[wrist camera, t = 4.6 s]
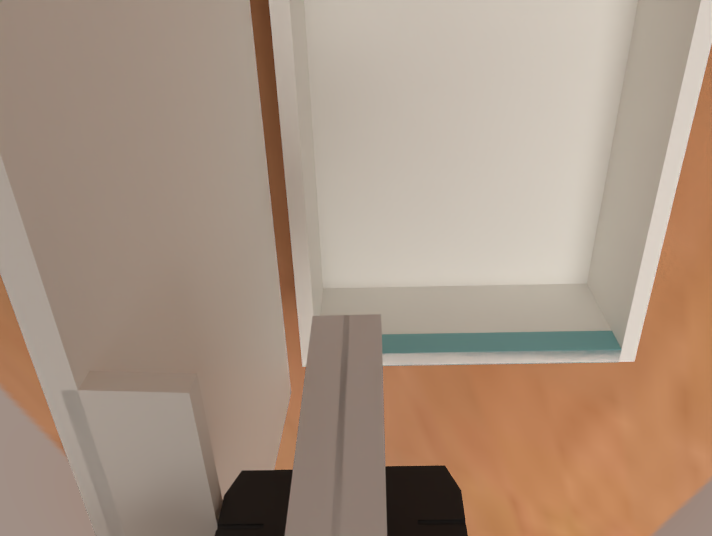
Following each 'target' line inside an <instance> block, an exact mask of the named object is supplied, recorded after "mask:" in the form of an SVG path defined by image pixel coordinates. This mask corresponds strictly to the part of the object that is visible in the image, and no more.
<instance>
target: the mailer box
mask: <svg viewBox="0 0 712 536" xmlns="http://www.w3.org/2000/svg"><path fill="white" fill-rule="evenodd" d="M269 9H270V20H271V31H272V42H273V52H274V63H275V74H276V85H277V96H278V107H279V118H280V128H281V139H282V150H283V161H284V172H285V183H286V194H287V205H288V215H289V226H290V237H291V248H292V259H293V270H294V281H295V291H296V302H297V313H298V324H299V335H300V346H301V357H302V367H306V363H307V355H308V348H309V340H310V332H311V324H312V316H326V315H367V314H381V323H382V361H383V366H406V365H470V364H534V363H599V362H634V361H635V357H636V353H637V348H638V344H639V340H640V336H641V332H642V328H643V324H644V320H645V316H646V311H647V307H648V303H649V299H650V295H651V291H652V287H653V283H654V278H655V274H656V270H657V266H658V262H659V258H660V254H661V250H662V246H663V241H664V237H665V233H666V229H667V225H668V221H669V217H670V213H671V209H672V204H673V200H674V196H675V192H676V188H677V184H678V180H679V176H680V171H681V167H682V163H683V159H684V155H685V151H686V147H687V143H688V139H689V134H690V130H691V126H692V122H693V118H694V114H695V110H696V106H697V102H698V97H699V93H700V89H701V85H702V81H703V77H704V73H705V69H706V65H707V60H708V56H709V52H710V48H711V44H712V0H269Z"/></svg>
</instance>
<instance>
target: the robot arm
mask: <svg viewBox="0 0 712 536" xmlns="http://www.w3.org/2000/svg"><path fill="white" fill-rule="evenodd" d="M215 536H468V535H467V528H466V525H465V515H464V508H463V501H462V494H461V490H460V488H459V487H458V485H457V484H456V482H455V480H454V479H453V477H452V476H451V474H450V473H449V471H448V470H447V468H446V467H445V466H387V467H385V436H384V399H383V361H382V323H381V314H367V315H326V316H312V324H311V332H310V340H309V348H308V355H307V363H306V371H305V379H304V387H303V395H302V403H301V411H300V418H299V426H298V434H297V442H296V450H295V458H294V466H293V470H243V471H241V472H240V474H239V475H238V477H237V478H236V479H235V481H234V482H233V484H232V485H231V486H230V488H229V489H228V491H227V492H226V493H225V495H224V498H223V502H222V506H221V511H220V515H219V519H218V523H217V530H216V532H215Z"/></svg>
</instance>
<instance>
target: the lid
mask: <svg viewBox="0 0 712 536" xmlns="http://www.w3.org/2000/svg"><path fill="white" fill-rule="evenodd" d="M0 274H1V277H2V280H3V282H4V285H5V288H6V291H7V293H8V296H9V299H10V302H11V304H12V307H13V310H14V313H15V315H16V318H17V321H18V324H19V326H20V329H21V332H22V335H23V337H24V340H25V343H26V346H27V348H28V351H29V354H30V357H31V359H32V362H33V365H34V368H35V370H36V373H37V376H38V379H39V381H40V384H41V387H42V390H43V392H44V395H45V398H46V401H47V403H48V406H49V409H50V412H51V414H52V417H53V420H54V423H55V425H56V428H57V431H58V434H59V436H60V439H61V442H62V445H63V447H64V450H65V453H66V456H67V458H68V461H69V464H70V466H71V469H72V472H73V475H74V478H75V480H76V483H77V486H78V488H79V491H80V494H81V496H82V499H83V502H84V505H85V508H86V511H87V513H88V516H89V519H90V521H91V524H92V527H93V530H94V533H95V535H96V536H215V532H216V530H217V523H218V519H219V515H220V511H221V506H222V502H223V498H224V495H225V493H226V492H227V491H228V489H229V488H230V486H231V485H232V484H233V482H234V481H235V479H236V478H237V477H238V475H239V474H240V472H241V471H243V470H274V468H275V464H276V459H277V455H278V450H279V446H280V441H281V437H282V432H283V428H284V423H285V419H286V414H287V410H288V405H289V401H290V396H291V385H290V376H289V366H288V357H287V347H286V338H285V328H284V319H283V310H282V300H281V291H280V281H279V272H278V262H277V253H276V244H275V234H274V225H273V215H272V206H271V196H270V187H269V178H268V168H267V159H266V149H265V140H264V130H263V121H262V112H261V102H260V93H259V83H258V74H257V65H256V55H255V46H254V36H253V27H252V17H251V8H250V0H0Z"/></svg>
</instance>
